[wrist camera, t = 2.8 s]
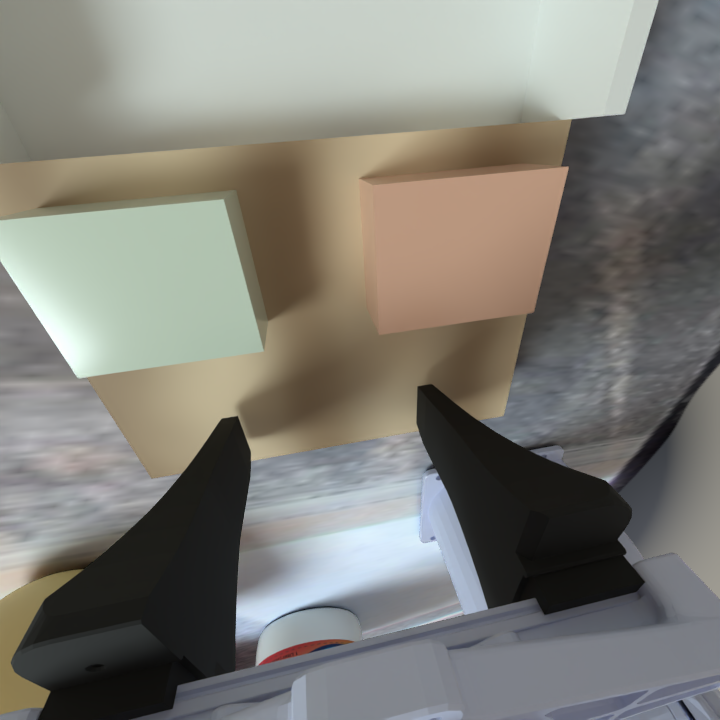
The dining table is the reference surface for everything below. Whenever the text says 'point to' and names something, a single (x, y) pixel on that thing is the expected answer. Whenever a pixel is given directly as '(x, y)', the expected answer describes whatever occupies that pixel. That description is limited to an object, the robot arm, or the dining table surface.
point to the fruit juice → (307, 633)
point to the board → (299, 292)
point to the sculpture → (5, 632)
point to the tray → (301, 69)
